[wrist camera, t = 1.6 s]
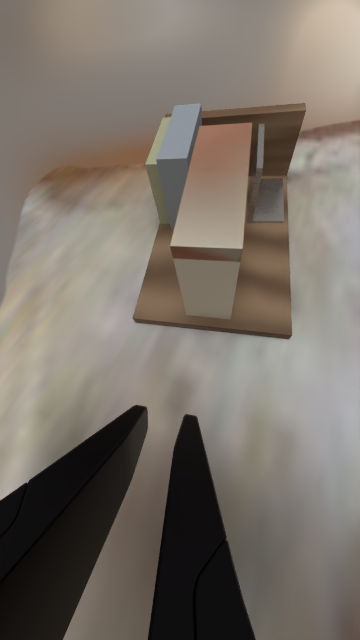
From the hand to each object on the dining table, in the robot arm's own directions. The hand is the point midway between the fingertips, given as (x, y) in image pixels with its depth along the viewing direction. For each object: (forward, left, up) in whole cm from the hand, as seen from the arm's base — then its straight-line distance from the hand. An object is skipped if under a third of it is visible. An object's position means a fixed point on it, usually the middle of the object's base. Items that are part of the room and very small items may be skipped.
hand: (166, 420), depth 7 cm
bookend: (+23, +16, -13) cm, 31 cm away
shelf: (+15, +15, -14) cm, 25 cm away
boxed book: (+12, +12, -13) cm, 21 cm away
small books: (+15, +23, -14) cm, 31 cm away
